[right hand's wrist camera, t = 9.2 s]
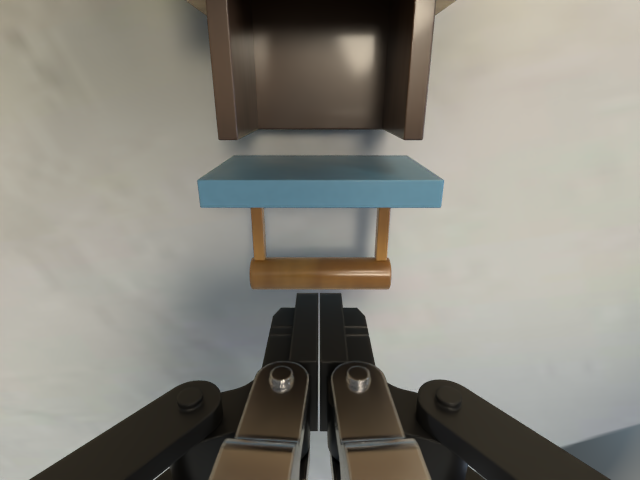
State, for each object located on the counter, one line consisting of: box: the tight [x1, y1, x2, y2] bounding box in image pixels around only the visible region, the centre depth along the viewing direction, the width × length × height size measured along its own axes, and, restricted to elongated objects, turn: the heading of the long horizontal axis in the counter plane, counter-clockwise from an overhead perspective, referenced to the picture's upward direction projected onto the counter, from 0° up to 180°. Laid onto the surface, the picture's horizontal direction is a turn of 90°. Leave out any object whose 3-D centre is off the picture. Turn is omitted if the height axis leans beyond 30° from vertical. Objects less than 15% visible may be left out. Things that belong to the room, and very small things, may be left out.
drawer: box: [197, 0, 444, 289], centre depth 17 cm, size 21×10×7 cm, turn 0°
